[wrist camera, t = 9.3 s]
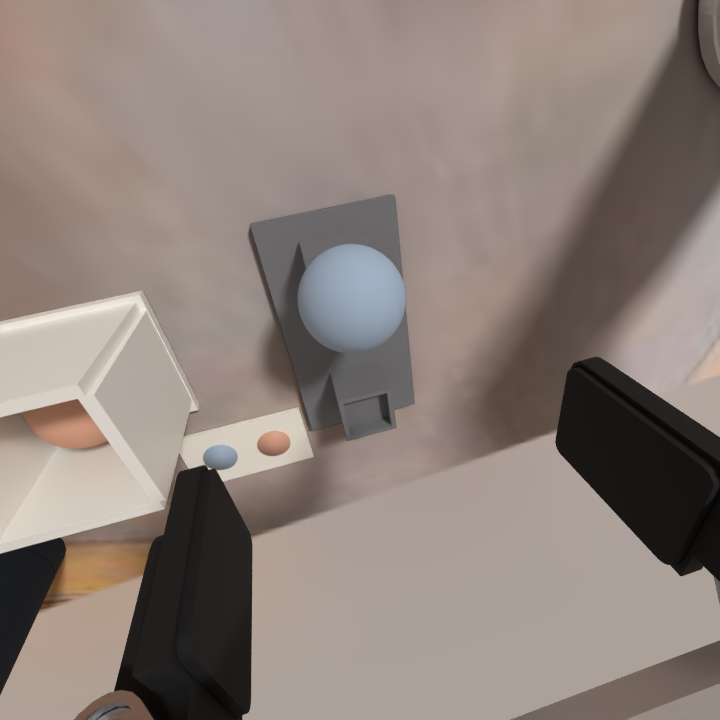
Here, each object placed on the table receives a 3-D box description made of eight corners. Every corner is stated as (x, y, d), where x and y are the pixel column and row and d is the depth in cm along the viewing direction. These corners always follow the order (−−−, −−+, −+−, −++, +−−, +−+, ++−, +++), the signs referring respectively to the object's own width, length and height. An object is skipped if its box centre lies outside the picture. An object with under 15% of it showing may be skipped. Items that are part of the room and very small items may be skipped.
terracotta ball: (122, 330, 22) (85, 381, 18) (161, 398, 24) (137, 456, 20) (32, 349, 21) (-28, 406, 17) (81, 415, 24) (39, 478, 20)
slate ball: (383, 222, 19) (417, 251, 15) (393, 313, 22) (424, 359, 17) (282, 243, 18) (288, 279, 14) (306, 333, 21) (316, 385, 17)
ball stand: (392, 194, 22) (414, 207, 18) (412, 399, 30) (430, 433, 27) (250, 223, 21) (248, 242, 18) (311, 425, 29) (317, 463, 26)
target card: (298, 407, 28) (299, 411, 28) (313, 454, 31) (314, 458, 30) (173, 438, 27) (172, 443, 27) (200, 484, 30) (199, 489, 29)
